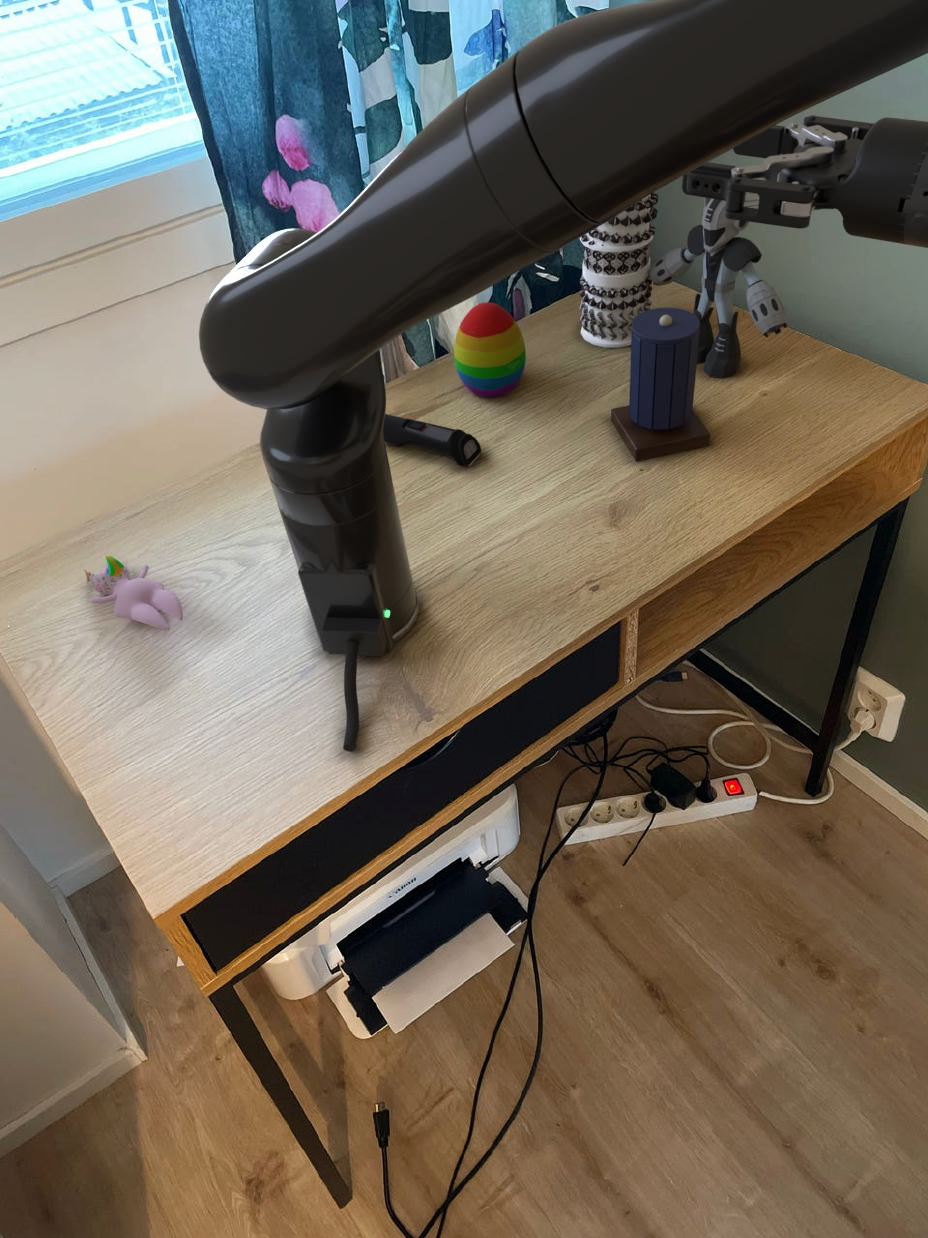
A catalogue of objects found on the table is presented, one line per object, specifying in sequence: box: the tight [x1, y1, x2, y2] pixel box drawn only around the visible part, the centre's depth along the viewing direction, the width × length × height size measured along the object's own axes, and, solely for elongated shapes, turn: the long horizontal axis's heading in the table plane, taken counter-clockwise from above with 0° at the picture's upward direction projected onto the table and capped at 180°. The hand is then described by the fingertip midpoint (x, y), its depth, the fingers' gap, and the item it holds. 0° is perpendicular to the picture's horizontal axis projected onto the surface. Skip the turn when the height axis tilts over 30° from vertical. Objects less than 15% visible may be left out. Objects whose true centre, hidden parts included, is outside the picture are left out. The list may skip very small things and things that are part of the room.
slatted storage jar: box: [628, 307, 700, 430], centre depth 90 cm, size 6×6×11 cm
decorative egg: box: [453, 301, 527, 398], centre depth 102 cm, size 8×8×10 cm
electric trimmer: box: [383, 413, 482, 467], centre depth 98 cm, size 4×16×3 cm, turn 59°
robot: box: [648, 197, 788, 379], centre depth 97 cm, size 20×5×20 cm, turn 34°
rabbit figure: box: [83, 554, 184, 631], centre depth 82 cm, size 6×6×15 cm
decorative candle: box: [579, 192, 659, 349], centre depth 102 cm, size 9×9×25 cm
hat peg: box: [610, 404, 711, 462], centre depth 91 cm, size 8×8×12 cm
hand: (710, 156), depth 69 cm, fingers open, 8 cm apart
